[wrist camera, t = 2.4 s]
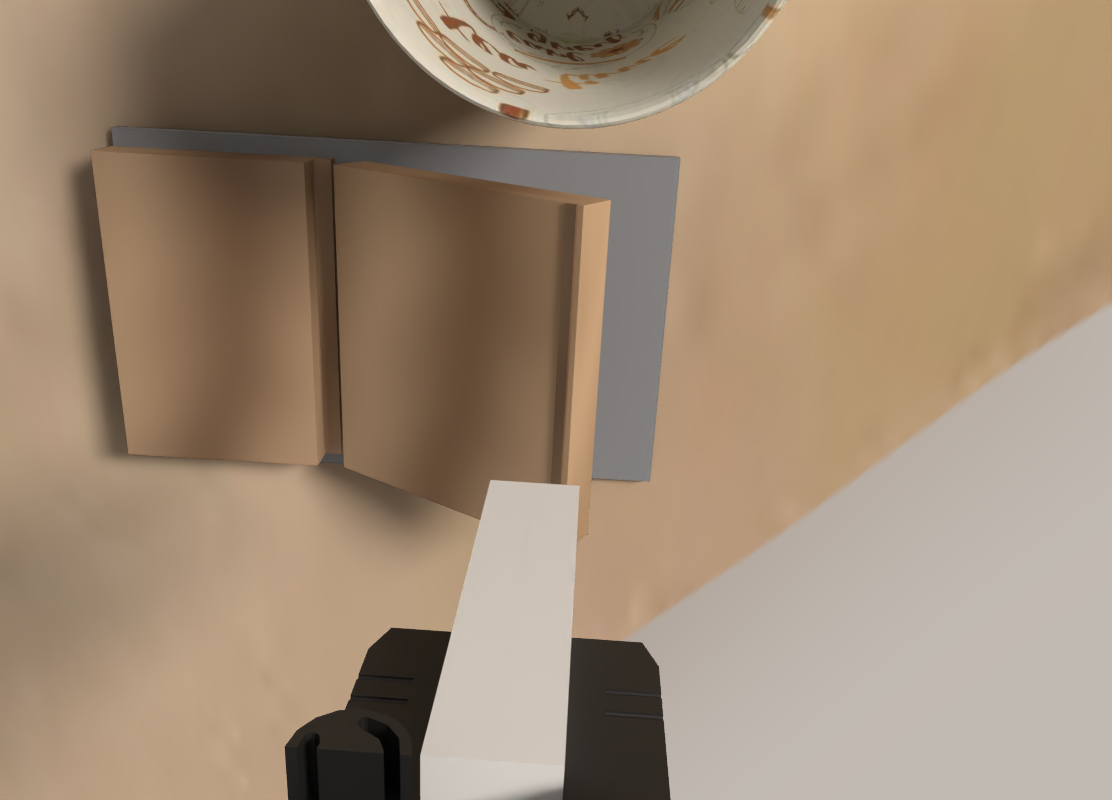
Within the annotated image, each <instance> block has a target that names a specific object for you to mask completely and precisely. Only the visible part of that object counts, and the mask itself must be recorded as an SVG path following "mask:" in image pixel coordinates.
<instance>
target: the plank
mask: <svg viewBox="0 0 1112 800" xmlns="http://www.w3.org/2000/svg"><path fill="white" fill-rule="evenodd" d="M333 167H334V195H335V224H336V253H337V281H338V310H339V339H340V367H341V396H342V424H343V453H344V467H345V468H348V469H350V470H353V471H355V472H358V473H360V474H363V475H366V476H368V477H371V478H373V479H376V480H378V481H381V482H384V483H386V484H389V485H391V486H394V487H397V488H399V489H402V490H404V491H407V492H409V493H412V494H415V495H417V496H420V497H422V498H425V499H427V500H430V501H433V502H435V503H438V504H440V505H443V506H445V507H448V508H451V509H453V510H456V511H458V512H461V513H464V514H466V515H469V516H471V517H474V518H476V519H479V520H480V519H481V515H482V511H483V507H484V503H485V500H486V496H487V492H488V488H489V484H490V480H498V481H514V482H529V483H544V484H560V485H575V486H580V488H579V507H578V526H577V542H578V541H579V540H581V539H582V538H583V537H585V536H586V535H588V522H589V508H590V494H591V479H592V465H593V451H594V436H595V422H596V408H597V393H598V379H599V364H600V350H601V336H602V321H603V307H604V293H605V278H606V264H607V250H608V235H609V221H610V206H611V200H609V199H603V198H597V197H590V196H584V195H578V194H571V193H565V192H559V191H552V190H546V189H540V188H533V187H527V186H521V185H514V184H508V183H501V182H495V181H489V180H482V179H476V178H470V177H463V176H457V175H451V174H444V173H438V172H432V171H425V170H419V169H413V168H406V167H400V166H394V165H387V164H381V163H375V162H368V161H361V162H352V163H343V164H334V165H333Z"/></svg>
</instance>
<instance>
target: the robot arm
mask: <svg viewBox="0 0 1112 800" xmlns="http://www.w3.org/2000/svg"><path fill="white" fill-rule="evenodd" d="M579 488H580V486H575V485H560V484H544V483H529V482H514V481H498V480H490V484H489V488H488V492H487V496H486V500H485V503H484V507H483V511H482V515H481V519H480V523H479V527H478V531H477V535H476V539H475V543H474V547H473V551H472V554H471V558H470V562H469V566H468V570H467V574H466V578H465V582H464V586H463V590H462V594H461V598H460V602H459V605H458V609H457V613H456V617H455V621H454V625H453V629H452V632H445V631H431V630H416V629H402V628H391V629H390V630H389V631H388V632H386V633H385V634H384V635H383V636H382V637H381V638H380V639H379V640H378V641H377V642H375V643H374V644H373V645H372V646H371V647H370V648H369V649H368V651H367V654H366V657H365V659H364V662H363V665H362V667H361V670H360V672H359V678H358V679H357V680H356V683H355V685H354V688H353V691H352V693H351V698H350V700H349V701H348V704H347V706H346V709H345V710H339V711H335V712H332V713H329V714H326V715H323V716H320V717H317V718H315V719H313V720H312V721H310V722H309V723H307V724H306V725H304V726H303V727H301V728H300V729H298V730H297V731H296V732H295V733H294V735H293V736H292V738H291V739H290V740H289V742H288V743H287V744H286V746H285V757H286V773H287V788H288V800H670V789H669V777H668V766H667V755H666V743H665V733H664V721H663V709H662V699H661V686H660V676H659V666H658V665H657V663H656V662H655V660H654V659H653V658H652V656H651V655H650V653H649V652H648V651H647V649H646V648H645V646H644V645H643V643H640V642H626V641H611V640H597V639H582V638H572V619H573V601H574V582H575V563H576V544H577V526H578V507H579Z"/></svg>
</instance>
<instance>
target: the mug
mask: <svg viewBox="0 0 1112 800" xmlns="http://www.w3.org/2000/svg"><path fill="white" fill-rule="evenodd" d="M786 1H787V0H367V2H368V4H369V5H370V7H371V9H372V10H373V12H374V14H375V15H376V17H377V18H378V20H379V21H380V22H381V24H382V25H383V26H384V28H385V29H386V31H387V32H388V33H389V35H390V36H391V37H392V39H393V40H394V41H395V42H396V43H397V44H398V45H399V46H400V48H401V49H402V50H403V51H404V52H405V53H406V54H407V56H409V57H410V58H411V59H412V60H413V61H414V62H415V63H416V64H417V65H418V66H419V67H420V68H421V69H422V70H423V71H424V72H426V73H427V74H428V75H429V76H431V77H432V78H433V79H435V80H436V81H437V82H438V83H440V84H441V85H442V86H443V87H445V88H447V89H448V90H450V91H451V92H453V93H454V94H456V95H458V96H459V97H461V98H462V99H464V100H466V101H468V102H470V103H472V104H474V105H476V106H478V107H480V108H482V109H484V110H486V111H489V112H492V113H494V114H497V115H499V116H502V117H504V118H508V119H511V120H515V121H519V122H522V123H526V124H531V125H537V126H543V127H549V128H563V129H588V128H600V127H607V126H614V125H619V124H624V123H628V122H632V121H636V120H640V119H642V118H645V117H648V116H651V115H654V114H657V113H660V112H662V111H664V110H666V109H668V108H671V107H673V106H675V105H677V104H679V103H681V102H683V101H685V100H686V99H688V98H690V97H692V96H693V95H695V94H697V93H698V92H700V91H702V90H703V89H705V88H706V87H707V86H709V85H710V84H711V83H713V82H714V81H716V80H717V79H718V78H720V77H721V76H722V75H723V74H725V73H726V72H727V71H728V70H729V69H730V68H731V67H733V66H734V65H735V64H736V63H737V62H738V61H739V60H740V59H741V58H742V57H743V56H744V55H745V54H746V53H747V52H748V51H749V50H750V49H751V48H752V47H753V46H754V45H755V44H756V43H757V41H758V40H759V39H760V38H761V36H762V35H763V34H764V32H765V31H766V30H767V29H768V27H769V26H770V25H771V24H772V22H773V21H774V19H775V18H776V16H777V15H778V13H779V12H780V10H781V9H782V7H783V6H784V4H785V2H786Z"/></svg>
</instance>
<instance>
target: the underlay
mask: <svg viewBox="0 0 1112 800" xmlns="http://www.w3.org/2000/svg"><path fill="white" fill-rule="evenodd" d="M111 132H112V141H113V146H127V147H145V148H164V149H182V150H200V151H218V152H236V153H254V154H272V155H291V156H309V157H327V158H335V164H343V163H352V162H361V161H368V162H375V163H381V164H387V165H394V166H400V167H406V168H413V169H419V170H425V171H432V172H438V173H444V174H451V175H457V176H463V177H470V178H476V179H482V180H489V181H495V182H501V183H508V184H514V185H521V186H527V187H533V188H540V189H546V190H552V191H559V192H565V193H571V194H578V195H584V196H590V197H597V198H603V199H609V200H611V206H610V221H609V235H608V250H607V264H606V278H605V293H604V307H603V321H602V336H601V350H600V364H599V379H598V393H597V408H596V422H595V436H594V451H593V465H592V478H597V479H614V480H631V481H647V482H650V475H651V464H652V454H653V443H654V433H655V422H656V411H657V401H658V390H659V380H660V369H661V358H662V348H663V337H664V327H665V316H666V305H667V295H668V284H669V274H670V263H671V252H672V242H673V231H674V221H675V210H676V199H677V189H678V178H679V168H680V157H672V156H654V155H636V154H617V153H599V152H581V151H563V150H544V149H526V148H508V147H490V146H471V145H453V144H435V143H417V142H398V141H380V140H362V139H344V138H326V137H307V136H289V135H271V134H253V133H234V132H216V131H198V130H180V129H161V128H143V127H125V126H116V127H111ZM320 462H331V463H344V453H343V452H342V454H329V453H325V455H324V456H323V458H322V460H321V461H320Z"/></svg>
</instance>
